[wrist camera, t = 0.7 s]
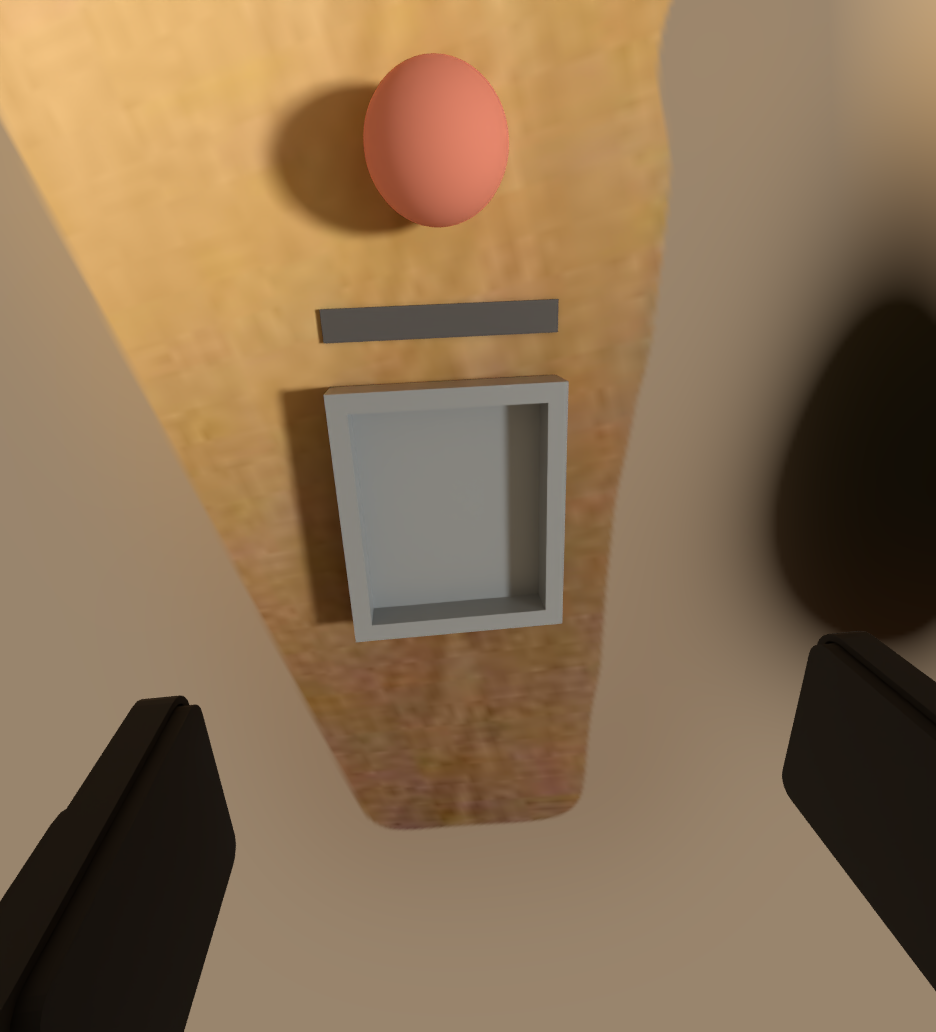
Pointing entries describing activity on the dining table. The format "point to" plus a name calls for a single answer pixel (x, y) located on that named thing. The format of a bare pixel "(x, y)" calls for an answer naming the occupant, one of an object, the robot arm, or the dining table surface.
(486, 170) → the ball
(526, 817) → the dining table surface
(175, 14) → the dining table surface
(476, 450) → the tray
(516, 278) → the dining table surface
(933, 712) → the robot arm
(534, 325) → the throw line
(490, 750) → the dining table surface
